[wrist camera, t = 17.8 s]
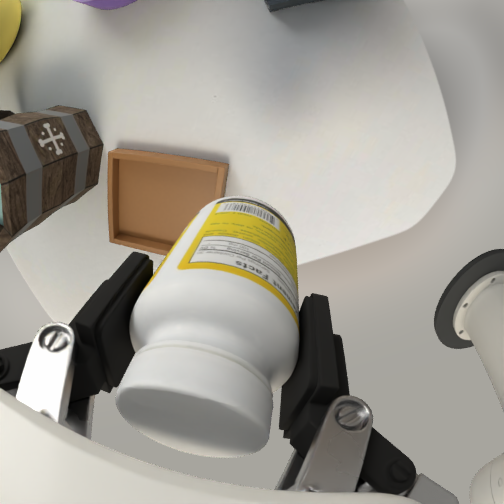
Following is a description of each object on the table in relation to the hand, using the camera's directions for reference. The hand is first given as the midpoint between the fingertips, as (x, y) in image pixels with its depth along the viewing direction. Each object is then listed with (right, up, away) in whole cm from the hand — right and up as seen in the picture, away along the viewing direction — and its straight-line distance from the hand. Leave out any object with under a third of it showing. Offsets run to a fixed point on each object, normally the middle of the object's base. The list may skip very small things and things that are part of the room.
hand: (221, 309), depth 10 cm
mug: (-25, +17, +19) cm, 36 cm away
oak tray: (-9, +8, +22) cm, 25 cm away
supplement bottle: (+1, +2, +4) cm, 5 cm away
